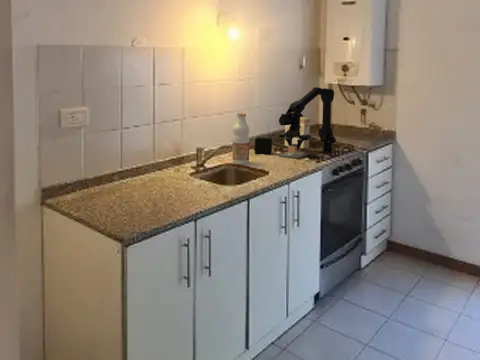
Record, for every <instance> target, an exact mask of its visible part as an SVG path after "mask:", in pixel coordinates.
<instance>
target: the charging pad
mask: <svg viewBox="0 0 480 360" xmlns="http://www.w3.org/2000/svg"><path fill="white" fill-rule="evenodd" d="M308 155H309V153H307V152H301V151H299V152H297V153H288V151H287V152H284V153H282V154H279V156H278V157H279V158H287V159H292V160H293V159H294V160H298V159H301V158H305V157H306V156H308Z"/></svg>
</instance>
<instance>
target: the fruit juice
mask: <svg viewBox="0 0 480 360" xmlns="http://www.w3.org/2000/svg"><path fill="white" fill-rule="evenodd" d="M246 114H247V113H243V112H242V113H241V112H238V113H237V114H236V117H237V119H236V122H235V124H234V126H233V127H232V132H233V136H232V154H231V155H232V156H231V157H232V160H231V161H232V163H233V164H235V165H248V164H249V162H250V137H249V135H250V127H249V125H248V124H247V120H246V117H247V115H246Z"/></svg>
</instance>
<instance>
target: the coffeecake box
mask: <svg viewBox="0 0 480 360" xmlns="http://www.w3.org/2000/svg"><path fill="white" fill-rule="evenodd" d="M310 124H311V118H310V117H304V116H303V117H300V126H301V128H300V133H301V134H300V135H303V134H309V135H310V129H311V128H310V126H311V125H310ZM289 126H290V125H284V128H285V131H284V132H287V131H288V130H289ZM297 140H299V138H292V144H298V142H297ZM288 146H289V145H288V142H287V141H286V140H285V139H284V147H288ZM307 148H310V140H304V141H303V142H302V144H301V146H300V149H307Z"/></svg>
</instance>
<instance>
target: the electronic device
mask: <svg viewBox="0 0 480 360" xmlns="http://www.w3.org/2000/svg"><path fill="white" fill-rule="evenodd" d="M272 153H273V138H272V137H263V136H262V137H261V136H257V137H255V139H254V154H255V155H260V154H265V155H264V156H270V155H271V154H272Z"/></svg>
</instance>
